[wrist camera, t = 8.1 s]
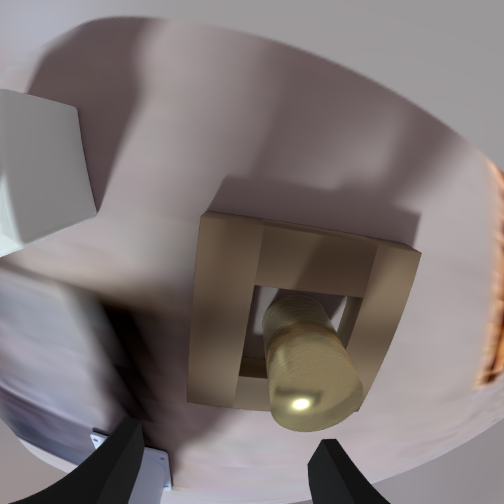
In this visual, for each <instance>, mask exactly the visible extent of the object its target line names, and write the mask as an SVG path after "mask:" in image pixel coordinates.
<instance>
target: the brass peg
mask: <svg viewBox="0 0 504 504" xmlns="http://www.w3.org/2000/svg"><path fill="white" fill-rule="evenodd" d="M262 330H263V339H264V349H265V358H266V368H267V378H268V388H269V397H270V407H271V413H272V416H273V418H274V420H275V421H276V422H277V423H278V424H279V425H281V426H282V427H284V428H286V429H289V430H293V431H299V432H312V431H319V430H323V429H326V428H329V427H332V426H334V425H336V424H338V423H340V422H342V421H343V420H345V419H346V418H347V417H349V416H350V415H351V414H352V413H353V412H354V411H355V410H356V409H357V407H358V406H359V404H360V402H361V400H362V397H363V385H362V382H361V380H360V378H359V376H358V374H357V372H356V370H355V368H354V366H353V364H352V362H351V360H350V358H349V356H348V354H347V352H346V350H345V348H344V346H343V345H342V343H341V341H340V339H339V337H338V335H337V333H336V331H335V329H334V327H333V325H332V323H331V321H330V320H329V318H328V316H327V314H326V312H325V310H324V308H323V307H322V305H321V304H320V303H319V302H318V301H317V300H316V299H314V298H313V297H310V296H308V295H303V294H292V295H287V296H284V297H282V298H280V299H278V300H276V301H275V302H274V303H272V304H271V305H270V306H269V308H268V309H267V310H266V312H265V314H264V317H263V320H262Z"/></svg>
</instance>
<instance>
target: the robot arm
mask: <svg viewBox="0 0 504 504" xmlns="http://www.w3.org/2000/svg"><path fill="white" fill-rule="evenodd" d="M90 436H91V438H92V441H93V443H94V446H95V448H96V450H95V451H94V452H93V453H92V454H91V455H90V456H89V457H88V458H87V459H86V460H85V461H84V462H82V463H81V464H80V465H79V466H78V467H77V468H75V469H74V470H73V471H72V472H70V473H69V474H68V475H66V476H65V477H64V478H62V479H61V480H59V481H57V482H56V483H54V484H53V485H51V486H49V487H48V488H46V489H44V490H42V491H40V492H38V493H36V494H34V495H31V496H29V497H27V498H25V499H22V500H19V501H16V502H12V503H9V504H160V501H161V496H162V492H163V490H165V491H171V490H172V485H171V477H170V469H169V460H168V454H167V453H166V452H164V451H160V450H156V449H151V448H147V447H145V445H144V440H143V433H142V427H141V420H137V419H133V418H130V417H124V418H123V419H122V420H121V422H120V423H119V424H118V426H117V427H116V428H115V429H114V431H113V432H112V433H111V434H110V435H109V436H105V435H102V434H99V433H96V432H91V434H90ZM308 478H309V487H310V491H311V496H312V500H313V504H390V503H389V502H388V501H387V500H386V499H385V498H384V497H383V496H381V494H380V493H379V492H378V491H377V490H376V489H375V488H374V487H373V486H372V485H371V484H370V483H369V482H368V481H367V479H366V478H365V477H364V476H363V475H362V473H361V472H360V471H359V470H358V468H357V467H356V466H355V464H354V463H353V462H352V460H351V459H350V458H349V456H348V455H347V454H346V452H345V451H344V449H343V448H342V446H341V445H340V444H339V442H338V441H337V440H336V439H322V440H321V442H320V444H319V446H318V447H317V449H316V451H315V453H314V454H313V456H312V458H311V459H310V461H309V463H308Z"/></svg>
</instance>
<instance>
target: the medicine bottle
mask: <svg viewBox="0 0 504 504" xmlns="http://www.w3.org/2000/svg"><path fill="white" fill-rule="evenodd" d="M96 214H97V211H96V207H95V203H94V199H93V195H92V190H91V186H90V181H89V177H88V172H87V167H86V162H85V157H84V151H83V146H82V139H81V133H80V126H79V119H78V111H77V108H76V107H74V106H70V105H67V104H63V103H60V102H56V101H52V100H49V99H45V98H41V97H37V96H33V95H29V94H25V93H20V92H16V91H11V90H7V89H0V257H2V256H5V255H7V254H10V253H12V252H15V251H17V250H20V249H22V248H24V247H27V246H29V245H31V244H33V243H35V242H38V241H40V240H42V239H44V238H47V237H49V236H51V235H54V234H56V233H58V232H61V231H63V230H66V229H68V228H71V227H73V226H75V225H78V224H80V223H83V222H86V221H88V220H91V219H93V218H94V217H95V216H96Z"/></svg>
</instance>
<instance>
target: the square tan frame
mask: <svg viewBox="0 0 504 504" xmlns="http://www.w3.org/2000/svg"><path fill="white" fill-rule="evenodd" d="M421 254H422V253H421V252H419V251H417V250H415V249H414V248H412V247H410V246H408V245H406V244H403V243H398V242H393V241H388V240H383V239H378V238H372V237H367V236H362V235H356V234H351V233H345V232H340V231H334V230H328V229H323V228H317V227H311V226H305V225H299V224H293V223H287V222H280V221H274V220H267V219H261V218H254V217H248V216H241V215H234V214H227V213H220V212H213V211H206V212H205V213H204V214H203V215H202V216H201V219H200V227H199V236H198V245H197V255H196V265H195V275H194V286H193V298H192V311H191V325H190V341H189V360H188V383H187V402H190V403H196V404H203V405H210V406H217V407H225V408H234V409H244V410H255V411H270V412H271V407H270V397H269V388H268V378H267V368H266V359H256V358H247V357H242V352H243V347H244V341H245V335H246V330H247V324H248V318H249V312H250V307H251V301H252V295H253V289H254V285H259V286H267V287H274V288H282V289H290V290H298V291H307V292H315V293H324V294H333V295H342V296H348V299H347V302H346V306H345V309H344V312H343V315H342V319H341V322H340V325H339V328H338V331H337V335H338V337H339V339H340V341H341V343H342V345H343V346H344V348H345V350H346V352H347V354H348V356H349V358H350V360H351V362H352V364H353V366H354V368H355V370H356V372H357V374H358V376H359V378H360V380H361V382H362V385H363V397H362V400H361V402H360V404H359V406H358V407H357V409H356V410H355V411H354V412H357V411H359V409H360V407H361V405H362V403H363V401H364V399H365V398H366V396H367V394H368V392H369V390H370V388H371V386H372V384H373V382H374V380H375V377H376V375H377V373H378V371H379V369H380V367H381V365H382V362H383V360H384V358H385V356H386V353H387V351H388V349H389V346H390V344H391V342H392V339H393V337H394V334H395V332H396V329H397V327H398V324H399V321H400V319H401V316H402V313H403V311H404V308H405V305H406V302H407V299H408V296H409V293H410V290H411V287H412V284H413V281H414V278H415V275H416V271H417V268H418V264H419V261H420V257H421Z"/></svg>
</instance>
